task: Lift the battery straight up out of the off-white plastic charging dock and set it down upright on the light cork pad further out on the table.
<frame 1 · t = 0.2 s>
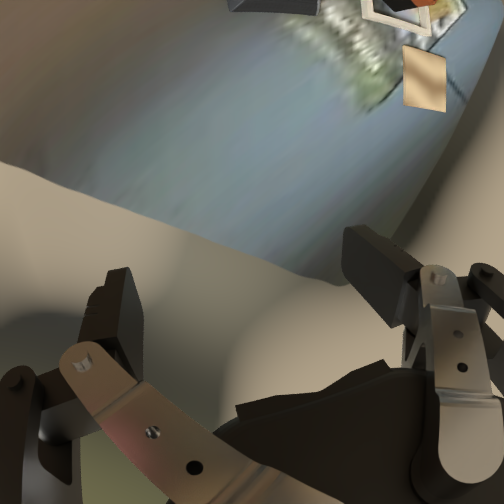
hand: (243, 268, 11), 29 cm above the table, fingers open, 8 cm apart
cork pad: (424, 79, 38), on the table
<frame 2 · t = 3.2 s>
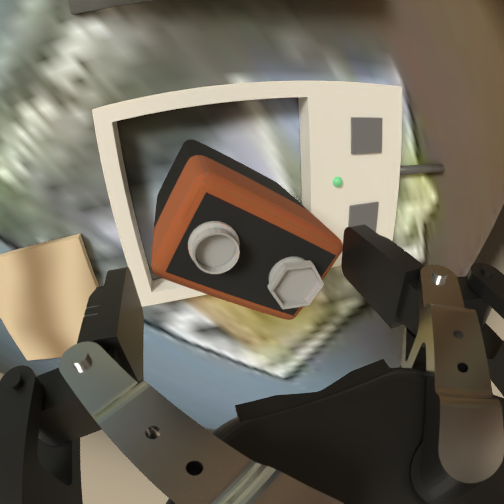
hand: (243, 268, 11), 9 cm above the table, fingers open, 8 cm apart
battery: (218, 189, 19), resting in charging dock, touching gripper
charging dock: (219, 190, 19), on the table
cork pad: (47, 305, 20), on the table
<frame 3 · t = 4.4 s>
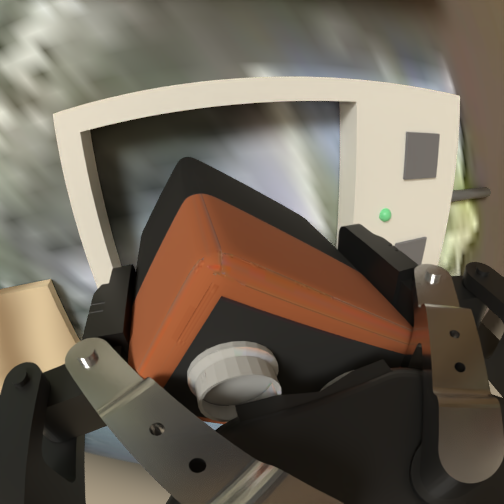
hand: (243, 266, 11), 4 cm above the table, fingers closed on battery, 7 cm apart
battery: (224, 224, 14), resting in charging dock, touching gripper
charging dock: (231, 225, 14), on the table
cork pad: (21, 356, 15), on the table
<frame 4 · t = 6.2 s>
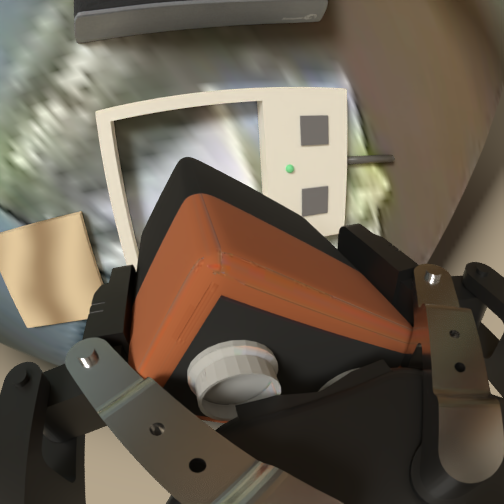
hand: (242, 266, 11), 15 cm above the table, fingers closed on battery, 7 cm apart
battery: (224, 224, 15), point 11 cm above the table, touching gripper
charging dock: (193, 176, 24), on the table
cork pad: (49, 274, 23), on the table
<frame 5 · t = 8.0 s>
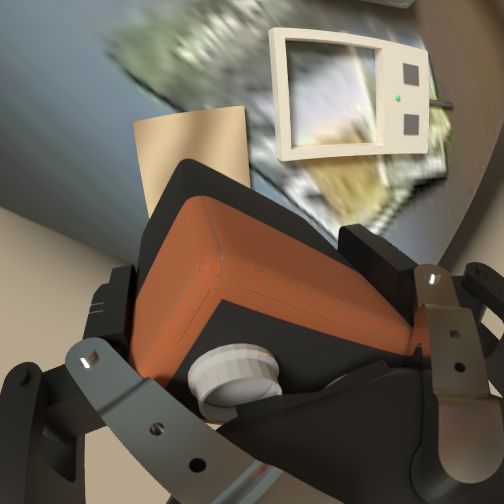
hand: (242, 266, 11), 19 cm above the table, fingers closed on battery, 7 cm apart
battery: (225, 225, 14), point 16 cm above the table, touching gripper
charging dock: (333, 93, 28), on the table
cork pad: (194, 164, 28), on the table
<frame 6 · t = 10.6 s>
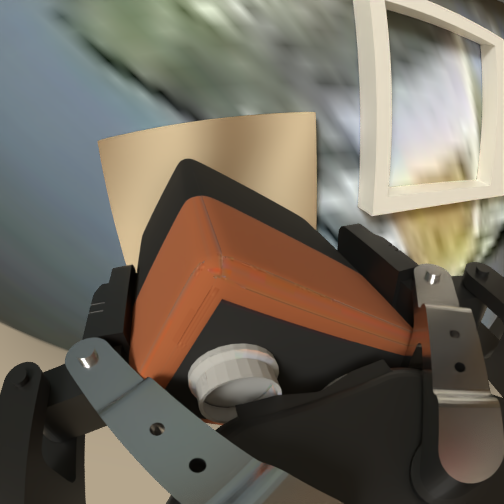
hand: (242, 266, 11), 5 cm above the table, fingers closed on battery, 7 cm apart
battery: (225, 225, 14), point 1 cm above the table, touching gripper
charging dock: (439, 103, 15), on the table
cork pad: (219, 220, 15), on the table
when the fingers open (5 cm above the table, at t = 11.7 s): battery stays where it is, resting on cork pad.
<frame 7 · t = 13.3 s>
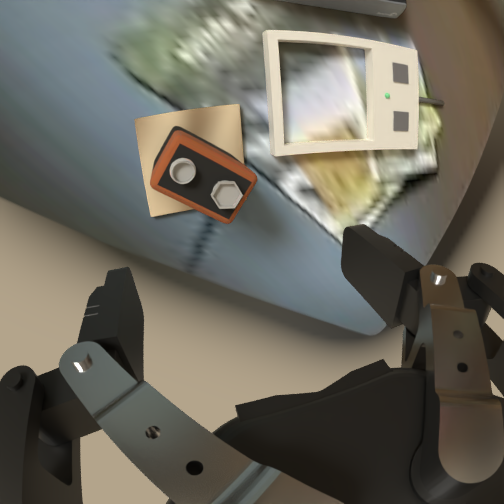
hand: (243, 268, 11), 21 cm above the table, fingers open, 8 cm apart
battery: (193, 158, 29), resting on cork pad
charging dock: (324, 91, 29), on the table
cork pad: (192, 159, 29), on the table
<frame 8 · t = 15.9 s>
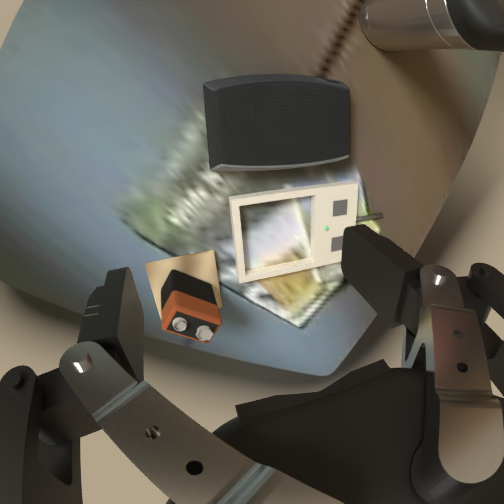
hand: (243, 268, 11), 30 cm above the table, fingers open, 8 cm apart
battery: (186, 286, 45), resting on cork pad
charging dock: (276, 232, 46), on the table
external hard drive: (278, 121, 39), on the table
cork pad: (185, 285, 46), on the table
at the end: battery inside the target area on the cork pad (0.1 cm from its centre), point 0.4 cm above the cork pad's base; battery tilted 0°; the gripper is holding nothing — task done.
